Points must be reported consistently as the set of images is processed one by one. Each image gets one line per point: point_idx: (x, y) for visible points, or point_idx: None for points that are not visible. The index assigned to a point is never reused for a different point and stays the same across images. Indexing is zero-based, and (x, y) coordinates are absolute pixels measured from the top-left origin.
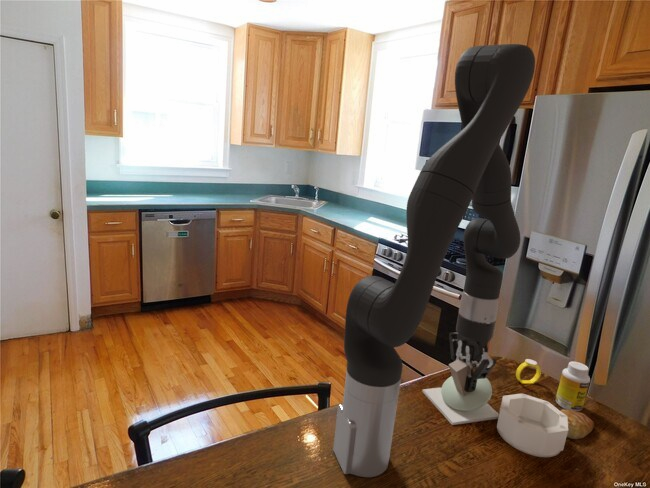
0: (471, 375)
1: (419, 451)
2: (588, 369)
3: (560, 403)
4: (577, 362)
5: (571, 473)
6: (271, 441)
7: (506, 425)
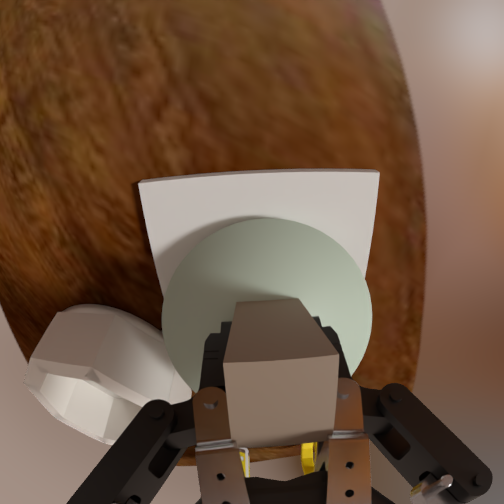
0: (193, 406)
1: (41, 21)
2: None
3: None
4: None
5: (32, 351)
6: None
7: (74, 335)
